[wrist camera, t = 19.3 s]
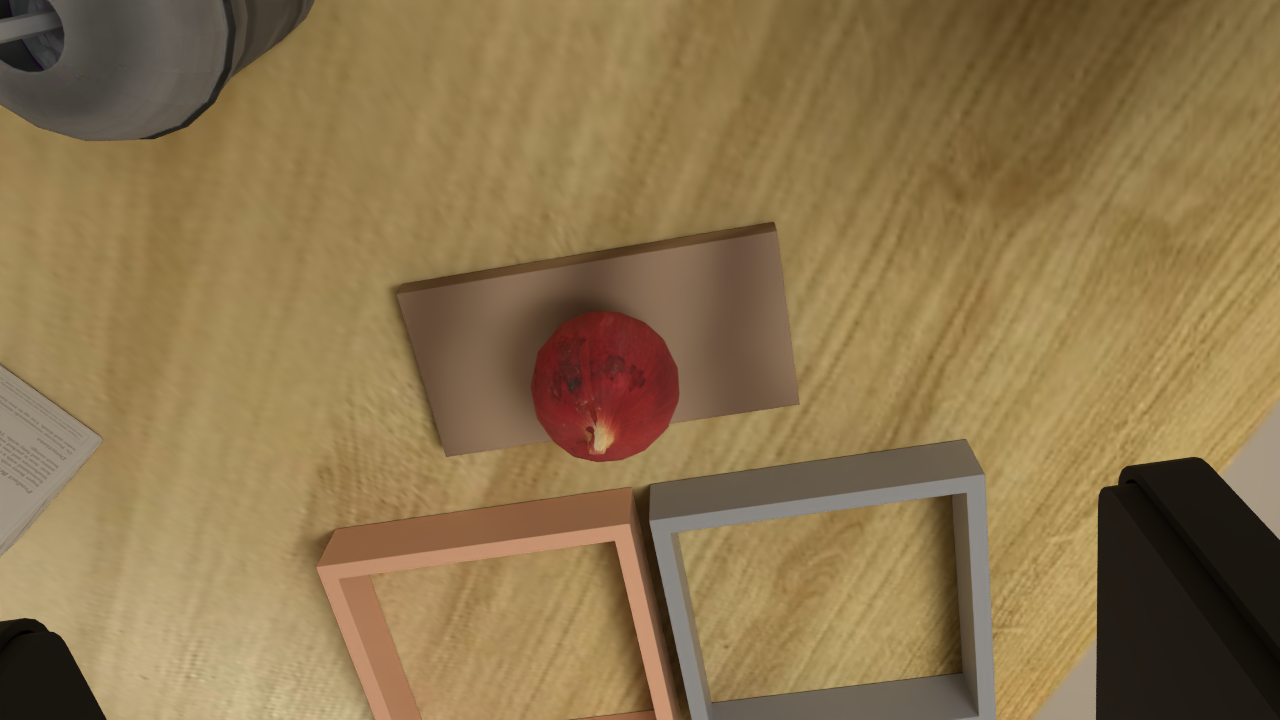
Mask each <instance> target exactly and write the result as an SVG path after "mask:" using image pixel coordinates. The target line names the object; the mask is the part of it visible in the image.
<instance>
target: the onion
mask: <svg viewBox="0 0 1280 720" xmlns="http://www.w3.org/2000/svg"><path fill="white" fill-rule="evenodd" d="M531 392H532V397H533V402H534V407H535V412H536V416H537V419H538V421H539V422H540V423H541V425H542V426H543V428H544V429H545V431H546V432H547V434H548V435H549V436H550V438H551V439H552V440H553V441H554V442H555V443H556V444H558V445H559V446H560V447H562V448H563V449H564V450H566V451H567V452H568V453H569V454H571V455H572V456H574V457H577V458H582V459H586V460H590V461H595V462H605V461H616V460H623V459H625V458H628V457H630V456H632V455H635V454H637V453H640V452H642V451H644V450H646V449H647V448H648V447H649V446H650V445H651V444H652V443H653V442H654V441H655V440H656V439H657V438H658V437H659V436H660V435H661V434H662V433H663V432H664V431H665V430H666V429H667V428H668V426H669V423H670V421H671V419H672V416H673V414H674V411H675V409H676V407H677V404H678V401H679V394H680V392H679V378H678V367H677V365H676V363H675V362H674V360H673V357H672V355H671V353H670V351H669V349H668V347H667V345H666V343H665V341H664V339H663V338H662V337H661V336H660V335H659V334H657V333H656V332H655V331H654V330H653V329H652V328H651V327H650V326H649V325H648V324H646V323H645V322H643V321H641V320H638V319H635V318H633V317H630V316H628V315H625V314H623V313H620V312H600V311H588V312H586V313H584V314H581V315H579V316H577V317H575V318H572V319H570V320H568V321H565V322H563V323H561V325H560V326H559V327H558V328H557V329H556V331H555V332H554V333H553V334H552V335H551V337H550V338H549V339H548V340H547V341H546V343H545V344H544V345H543V346H542V347H541V349H540V350H539V351H538V354H537V358H536V363H535V367H534V372H533V376H532V382H531Z"/></svg>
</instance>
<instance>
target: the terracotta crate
mask: <svg viewBox="0 0 1280 720" xmlns="http://www.w3.org/2000/svg"><path fill="white" fill-rule="evenodd" d="M610 541H615V543H616V547H617V551H618V556H619V560H620V564H621V569H622V573H623V577H624V581H625V586H626V590H627V594H628V599H629V603H630V607H631V611H632V616H633V620H634V624H635V629H636V633H637V637H638V641H639V646H640V650H641V654H642V658H643V663H644V667H645V671H646V676H647V680H648V684H649V688H650V693H651V697H652V701H653V706H654V710H650V711H642V712H633V713H625V714H617V715H608V716H600V717H592V718H583V719H575V720H682V715H681V710H680V706H679V701H678V697H677V692H676V688H675V683H674V679H673V674H672V669H671V665H670V660H669V656H668V651H667V647H666V642H665V637H664V633H663V628H662V624H661V619H660V615H659V610H658V606H657V601H656V596H655V592H654V587H653V583H652V578H651V574H650V569H649V565H648V560H647V555H646V551H645V546H644V542H643V537H642V533H641V528H640V524H639V519H638V514H637V510H636V505H635V501H634V496H633V492H632V487H629V488H622V489H615V490H608V491H601V492H594V493H587V494H580V495H573V496H566V497H559V498H552V499H545V500H538V501H531V502H524V503H517V504H510V505H503V506H496V507H489V508H482V509H475V510H468V511H461V512H454V513H447V514H440V515H433V516H426V517H419V518H412V519H405V520H398V521H391V522H384V523H377V524H370V525H363V526H356V527H349V528H342V529H336V530H335V532H334V534H333V536H332V537H331V539H330V541H329V543H328V545H327V547H326V549H325V551H324V553H323V555H322V557H321V559H320V561H319V563H318V564H317V566H316V568H317V571H318V573H319V576H320V579H321V581H322V584H323V586H324V589H325V591H326V594H327V596H328V599H329V602H330V604H331V607H332V609H333V612H334V614H335V617H336V620H337V622H338V625H339V627H340V630H341V632H342V635H343V638H344V640H345V643H346V645H347V648H348V650H349V653H350V656H351V658H352V661H353V663H354V666H355V668H356V671H357V674H358V676H359V679H360V681H361V684H362V686H363V689H364V692H365V694H366V697H367V699H368V702H369V704H370V707H371V710H372V712H373V715H374V717H375V720H421V717H420V714H419V711H418V709H417V706H416V703H415V700H414V698H413V695H412V692H411V689H410V687H409V684H408V681H407V678H406V676H405V673H404V670H403V667H402V665H401V662H400V659H399V656H398V654H397V651H396V648H395V645H394V643H393V640H392V637H391V634H390V632H389V629H388V626H387V623H386V621H385V618H384V615H383V612H382V610H381V607H380V604H379V601H378V599H377V596H376V593H375V590H374V588H373V585H372V582H371V579H370V577H369V575H370V574H378V573H385V572H392V571H399V570H407V569H414V568H421V567H428V566H436V565H443V564H450V563H458V562H465V561H472V560H479V559H487V558H494V557H501V556H508V555H516V554H523V553H530V552H537V551H545V550H552V549H559V548H567V547H574V546H581V545H588V544H596V543H603V542H610Z"/></svg>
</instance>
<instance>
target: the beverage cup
mask: <svg viewBox="0 0 1280 720" xmlns="http://www.w3.org/2000/svg"><path fill="white" fill-rule="evenodd" d="M313 3H314V0H0V105H2V106H4V107H5V108H7V109H9V110H10V111H12V112H14V113H15V114H17V115H19V116H20V117H22V118H23V119H25V120H27V121H28V122H30V123H32V124H33V125H35V126H37V127H39V128H42V129H46V130H49V131H53V132H56V133H59V134H63V135H66V136H70V137H73V138H77V139H81V140H85V141H111V140H137V139H156V138H158V137H161V136H164V135H166V134H169V133H172V132H174V131H177V130H180V129H182V128H185V127H188V126H189V125H190V124H191V123H192V122H193V121H195V120H196V119H197V118H198V117H199V116H200V115H201V114H202V113H203V112H205V111H206V110H207V109H208V108H209V107H210V106H211V105H212V104H214V103H215V101H216V99H217V97H218V95H219V93H220V91H221V90H222V89H223V87H224V86H225V85H226V83H227V82H228V81H229V79H230V78H231V77H232V76H234V75H235V74H236V73H238V72H239V71H240V70H242V69H243V68H245V67H246V66H247V65H249V64H250V63H251V62H253V61H254V60H256V59H257V58H258V57H260V56H261V55H262V54H264V53H265V52H266V51H268V50H269V49H271V48H272V47H273V46H275V45H276V44H277V43H279V42H280V41H282V40H283V39H284V38H285V37H286V36H287V35H288V34H289V33H291V32H292V31H293V30H294V29H295V28H296V27H297V26H298V25H299V24H300V23H301V22H302V21H303V20H304V19H305V18H306V16H307V14H308V13H309V11H310V9H311V7H312V5H313Z"/></svg>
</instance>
